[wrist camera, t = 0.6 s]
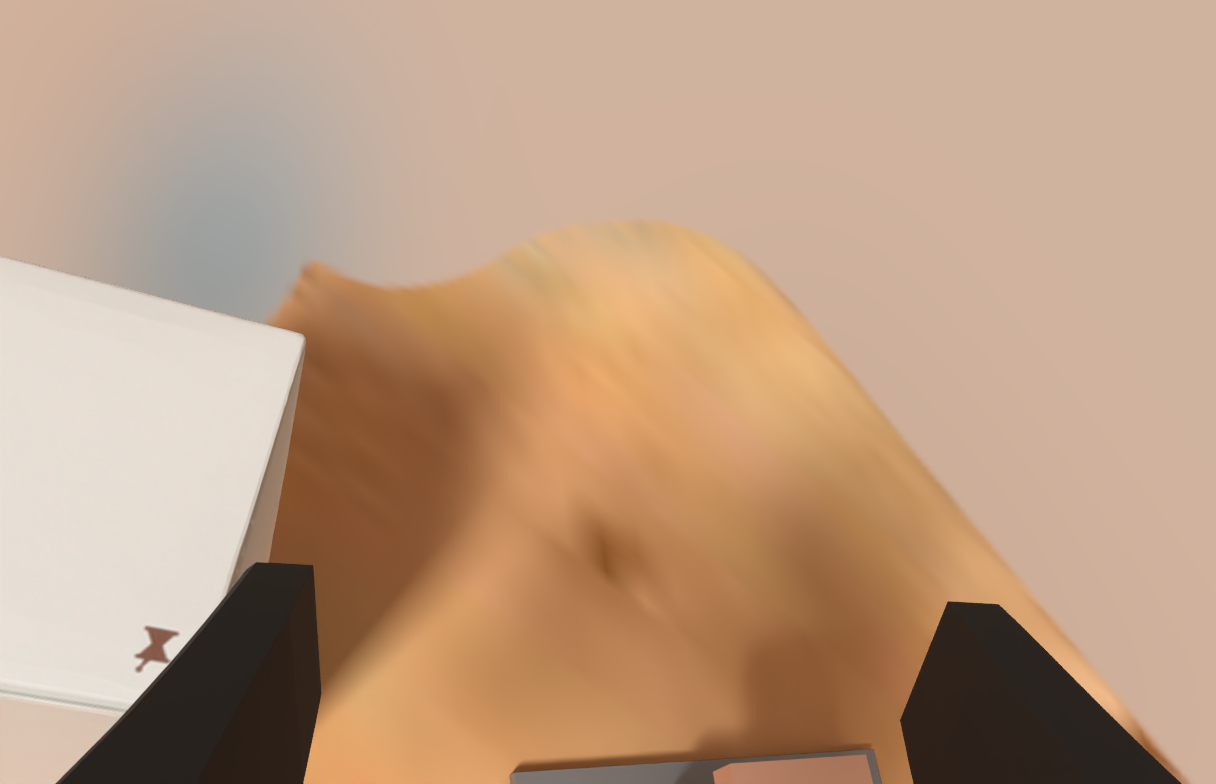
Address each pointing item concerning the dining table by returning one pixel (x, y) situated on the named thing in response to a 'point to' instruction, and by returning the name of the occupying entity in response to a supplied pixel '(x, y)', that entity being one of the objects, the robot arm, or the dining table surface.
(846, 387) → the dining table surface
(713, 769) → the keypad base
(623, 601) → the dining table surface
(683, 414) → the dining table surface
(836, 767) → the key terracotta
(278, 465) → the supplement box
